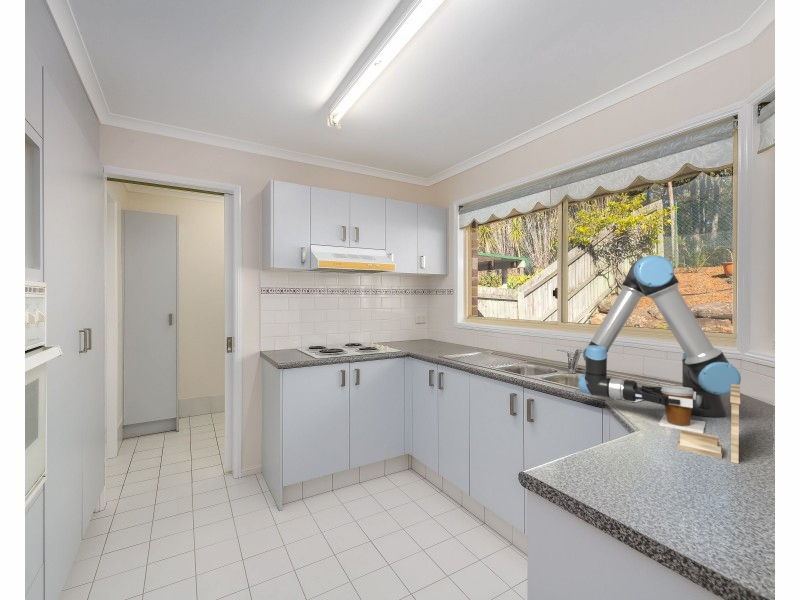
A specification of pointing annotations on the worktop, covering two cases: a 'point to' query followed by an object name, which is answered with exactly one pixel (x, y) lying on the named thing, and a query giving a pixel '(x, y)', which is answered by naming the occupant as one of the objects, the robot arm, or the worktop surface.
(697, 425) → the white square coaster
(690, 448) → the offcut stack
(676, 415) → the disposable coffee cup
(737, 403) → the pine panel
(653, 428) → the worktop surface
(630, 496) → the worktop surface
